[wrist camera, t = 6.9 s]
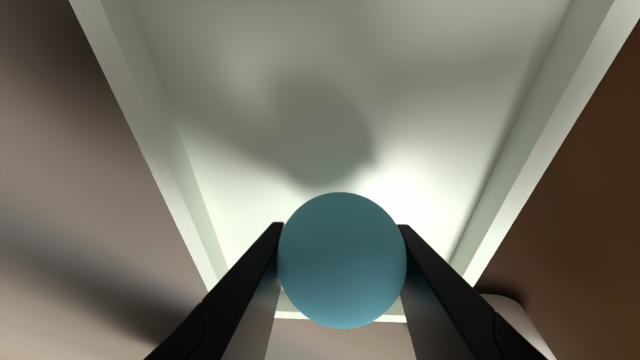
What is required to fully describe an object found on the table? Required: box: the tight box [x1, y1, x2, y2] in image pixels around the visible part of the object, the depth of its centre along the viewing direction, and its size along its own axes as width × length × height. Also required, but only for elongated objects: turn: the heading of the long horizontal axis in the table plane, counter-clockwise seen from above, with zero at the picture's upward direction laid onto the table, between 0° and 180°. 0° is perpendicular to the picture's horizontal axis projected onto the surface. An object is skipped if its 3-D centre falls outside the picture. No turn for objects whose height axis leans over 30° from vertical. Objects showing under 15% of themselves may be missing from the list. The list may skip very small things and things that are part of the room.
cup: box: [480, 294, 556, 360], centre depth 17 cm, size 8×8×4 cm
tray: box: [69, 0, 640, 322], centre depth 10 cm, size 14×18×2 cm
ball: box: [277, 192, 407, 329], centre depth 8 cm, size 4×4×4 cm
